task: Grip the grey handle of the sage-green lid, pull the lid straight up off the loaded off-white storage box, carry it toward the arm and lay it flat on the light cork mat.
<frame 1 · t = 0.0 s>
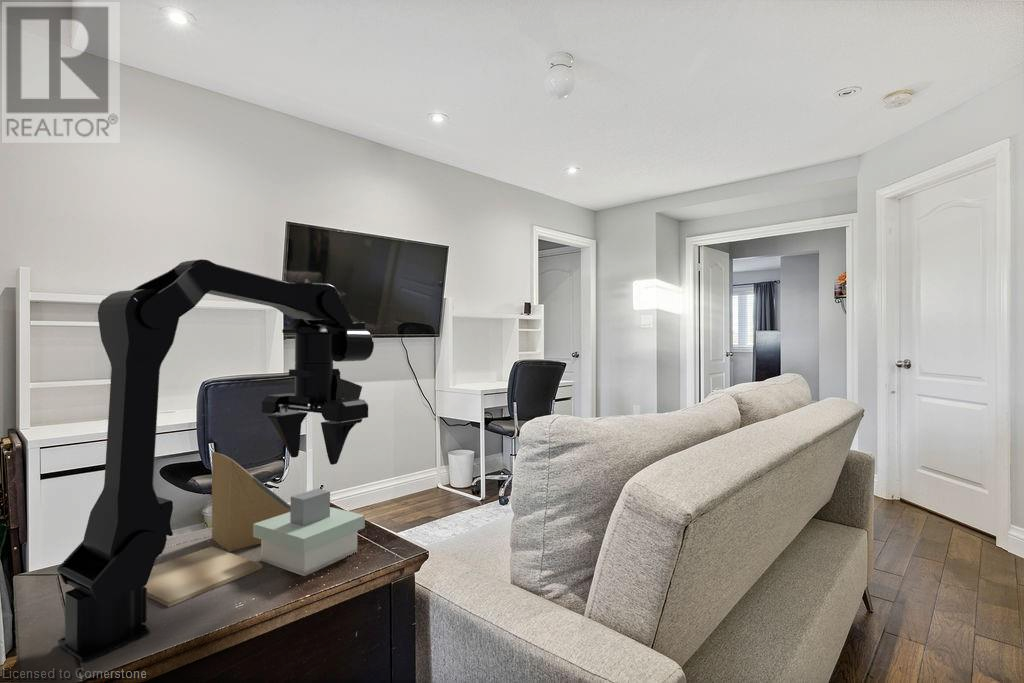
hand: (313, 460, 83), 15 cm above the table, fingers open, 9 cm apart
storage box: (310, 556, 82), on the table
wooden ramp: (267, 534, 92), on the table
cork mat: (192, 575, 75), on the table
lid: (310, 532, 82), point 4 cm above the table, touching storage box
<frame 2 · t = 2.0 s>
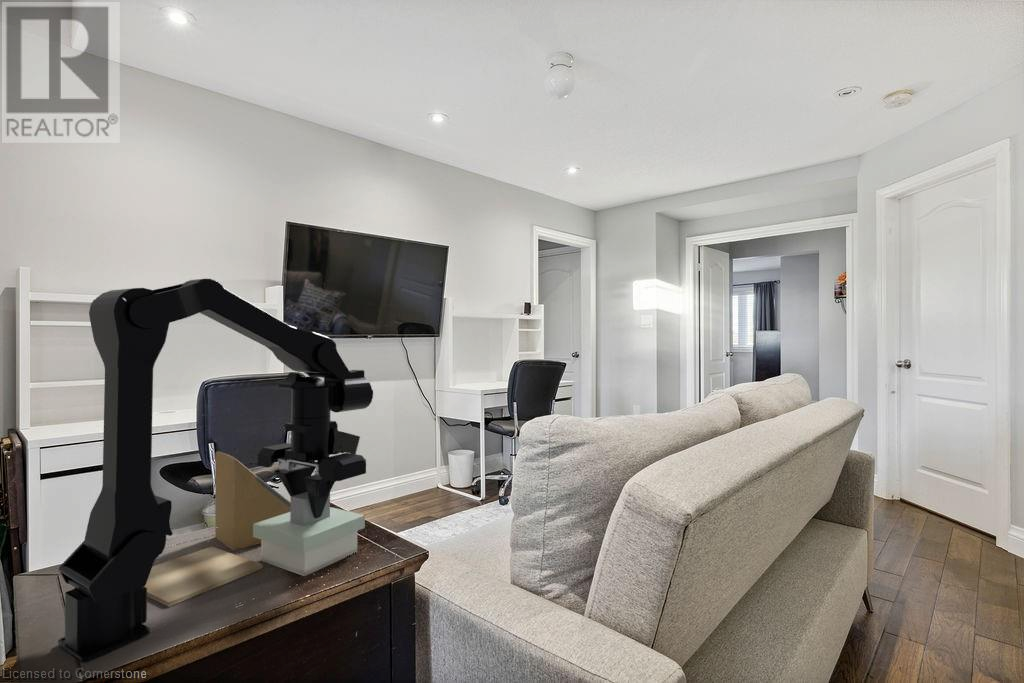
hand: (310, 515, 82), 6 cm above the table, fingers closed on lid, 3 cm apart
lid: (310, 532, 82), point 4 cm above the table, touching gripper, storage box
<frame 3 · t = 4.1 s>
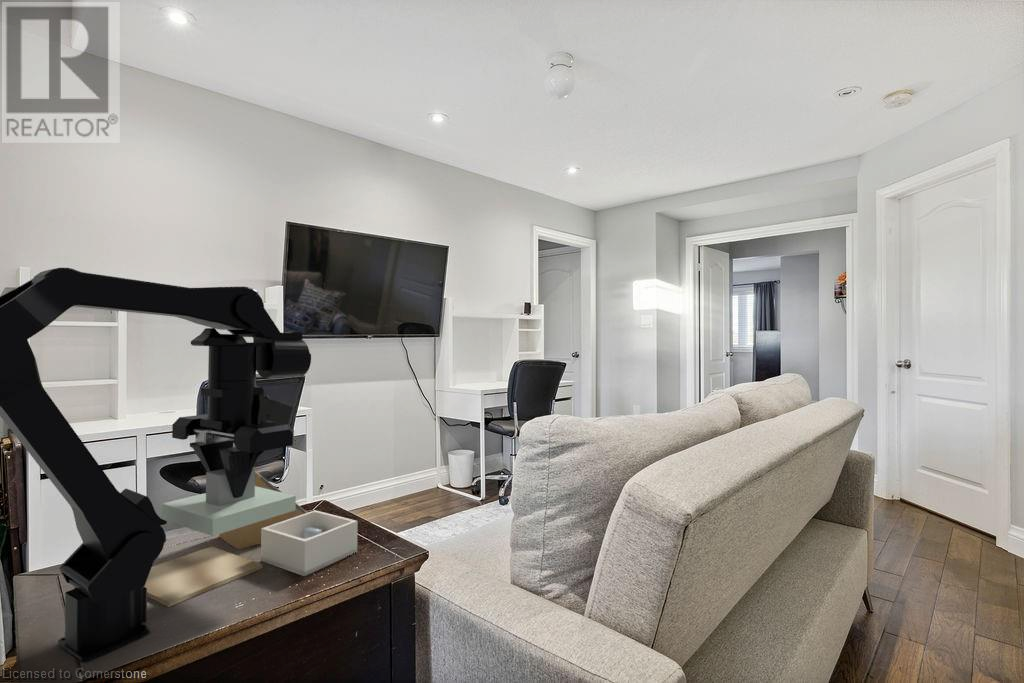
hand: (230, 495, 71), 13 cm above the table, fingers closed on lid, 3 cm apart
lid: (230, 514, 71), point 10 cm above the table, touching gripper
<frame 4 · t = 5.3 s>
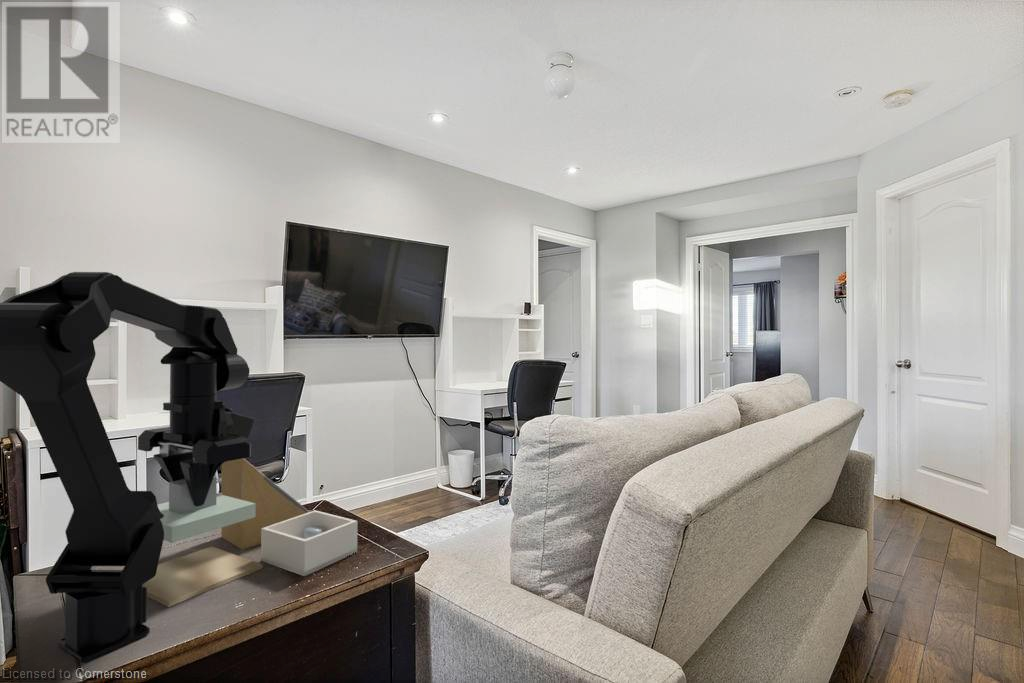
hand: (192, 503, 75), 10 cm above the table, fingers closed on lid, 3 cm apart
lid: (192, 521, 75), point 8 cm above the table, touching gripper
when the fingers open (5 cm above the table, at t = 6.5 s): lid drops 2 cm, resting on cork mat.
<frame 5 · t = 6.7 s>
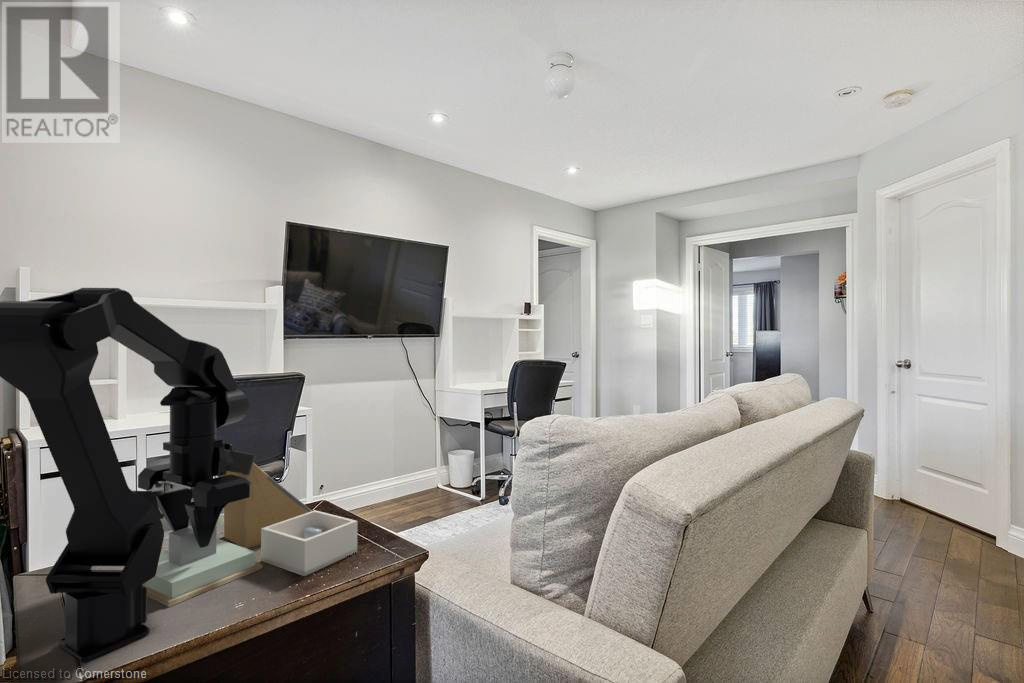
hand: (192, 542, 75), 5 cm above the table, fingers open, 5 cm apart
lid: (193, 571, 75), point 1 cm above the table, touching cork mat
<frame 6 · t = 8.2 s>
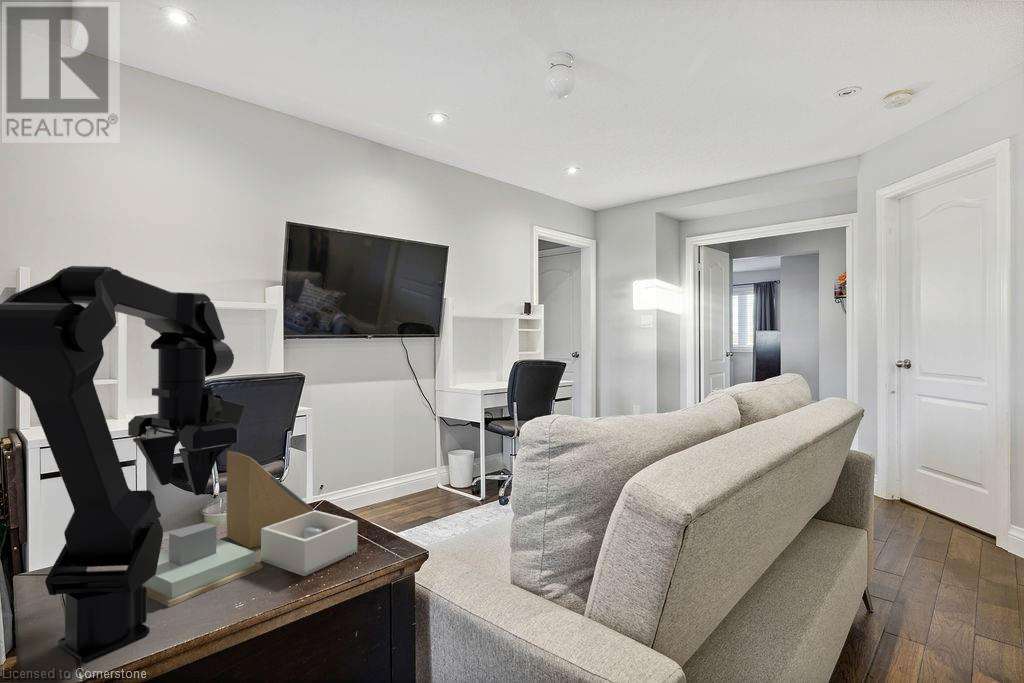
hand: (181, 489, 75), 12 cm above the table, fingers open, 9 cm apart
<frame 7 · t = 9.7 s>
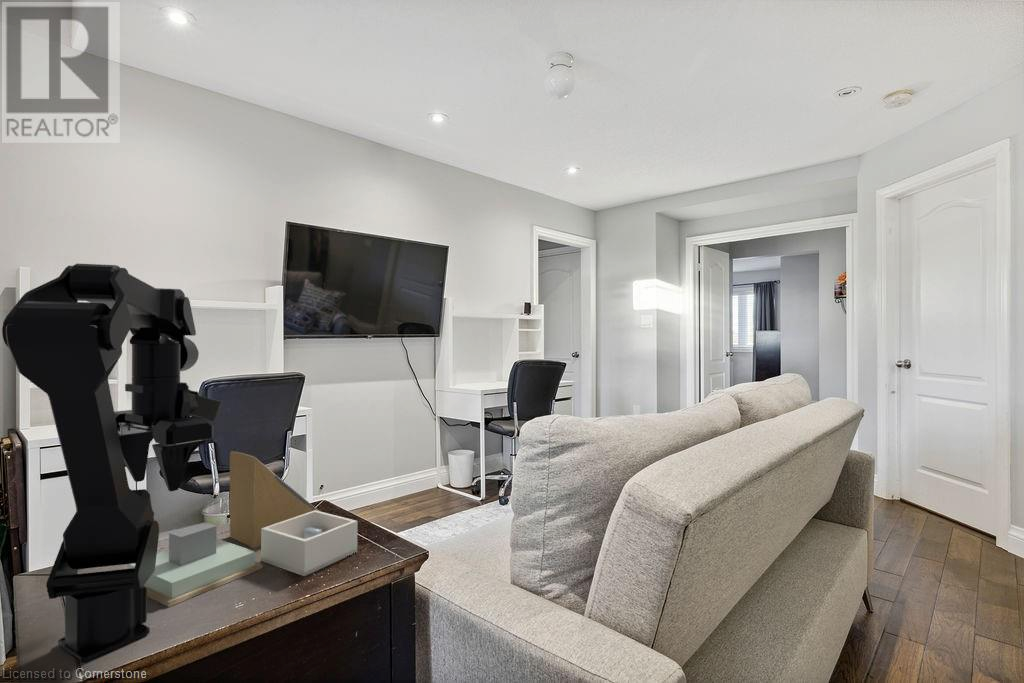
hand: (155, 485, 74), 13 cm above the table, fingers open, 9 cm apart
at the end: lid inside the target area on the cork mat (0.0 cm from its centre), point 0.6 cm above the cork mat's base; lid tilted 0°; the gripper is holding nothing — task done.
